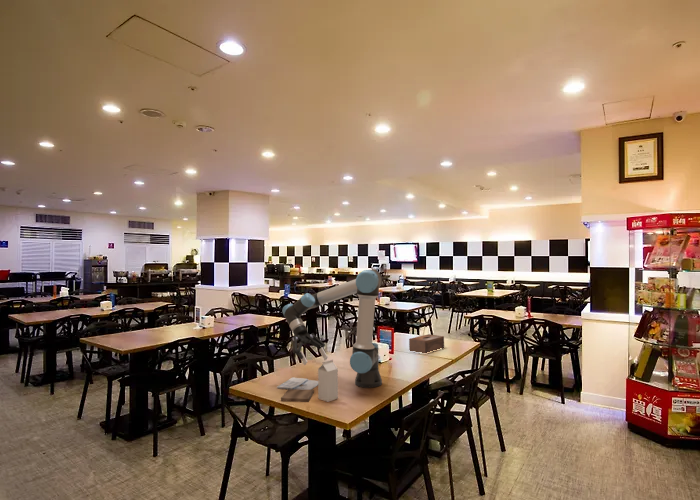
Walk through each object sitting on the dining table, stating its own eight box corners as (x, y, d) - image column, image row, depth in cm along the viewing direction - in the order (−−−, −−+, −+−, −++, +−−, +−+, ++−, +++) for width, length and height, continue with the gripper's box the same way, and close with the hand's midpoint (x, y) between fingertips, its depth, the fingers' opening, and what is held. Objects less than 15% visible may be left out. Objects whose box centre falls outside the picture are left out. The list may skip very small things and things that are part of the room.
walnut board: (314, 392, 209) (313, 389, 209) (308, 401, 195) (308, 398, 195) (288, 392, 210) (288, 389, 210) (280, 401, 196) (280, 398, 196)
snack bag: (293, 379, 234) (293, 376, 234) (324, 383, 227) (324, 379, 227) (275, 389, 217) (275, 385, 217) (308, 393, 209) (308, 389, 209)
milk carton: (338, 398, 199) (337, 360, 200) (327, 402, 194) (327, 363, 195) (328, 395, 204) (327, 358, 205) (318, 399, 199) (317, 361, 199)
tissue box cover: (425, 354, 292) (424, 341, 293) (409, 351, 303) (409, 338, 303) (444, 349, 310) (443, 336, 311) (428, 346, 321) (428, 334, 321)
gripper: (313, 330, 227) (331, 360, 216) (276, 336, 210) (293, 369, 199) (319, 321, 223) (337, 352, 212) (282, 327, 206) (300, 361, 195)
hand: (316, 361), depth 205 cm, fingers open, 13 cm apart
